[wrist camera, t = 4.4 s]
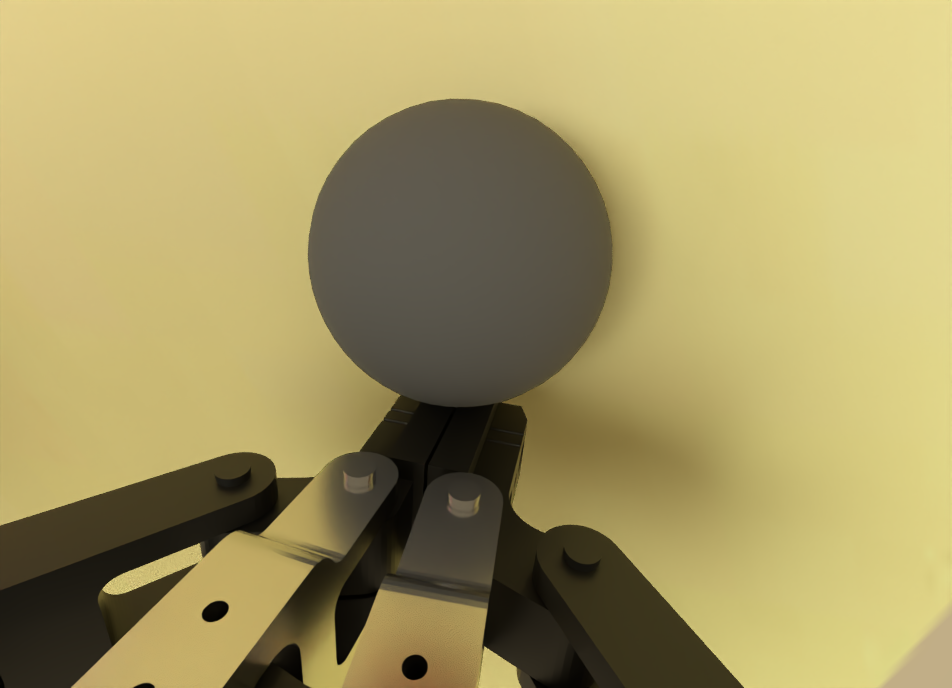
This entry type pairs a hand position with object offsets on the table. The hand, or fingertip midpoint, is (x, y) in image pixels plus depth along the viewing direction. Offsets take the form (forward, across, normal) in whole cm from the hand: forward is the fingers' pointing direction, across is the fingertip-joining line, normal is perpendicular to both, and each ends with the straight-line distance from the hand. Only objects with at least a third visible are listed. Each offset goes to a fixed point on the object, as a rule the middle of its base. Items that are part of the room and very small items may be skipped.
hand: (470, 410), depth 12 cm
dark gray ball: (-1, 0, -4) cm, 4 cm away
